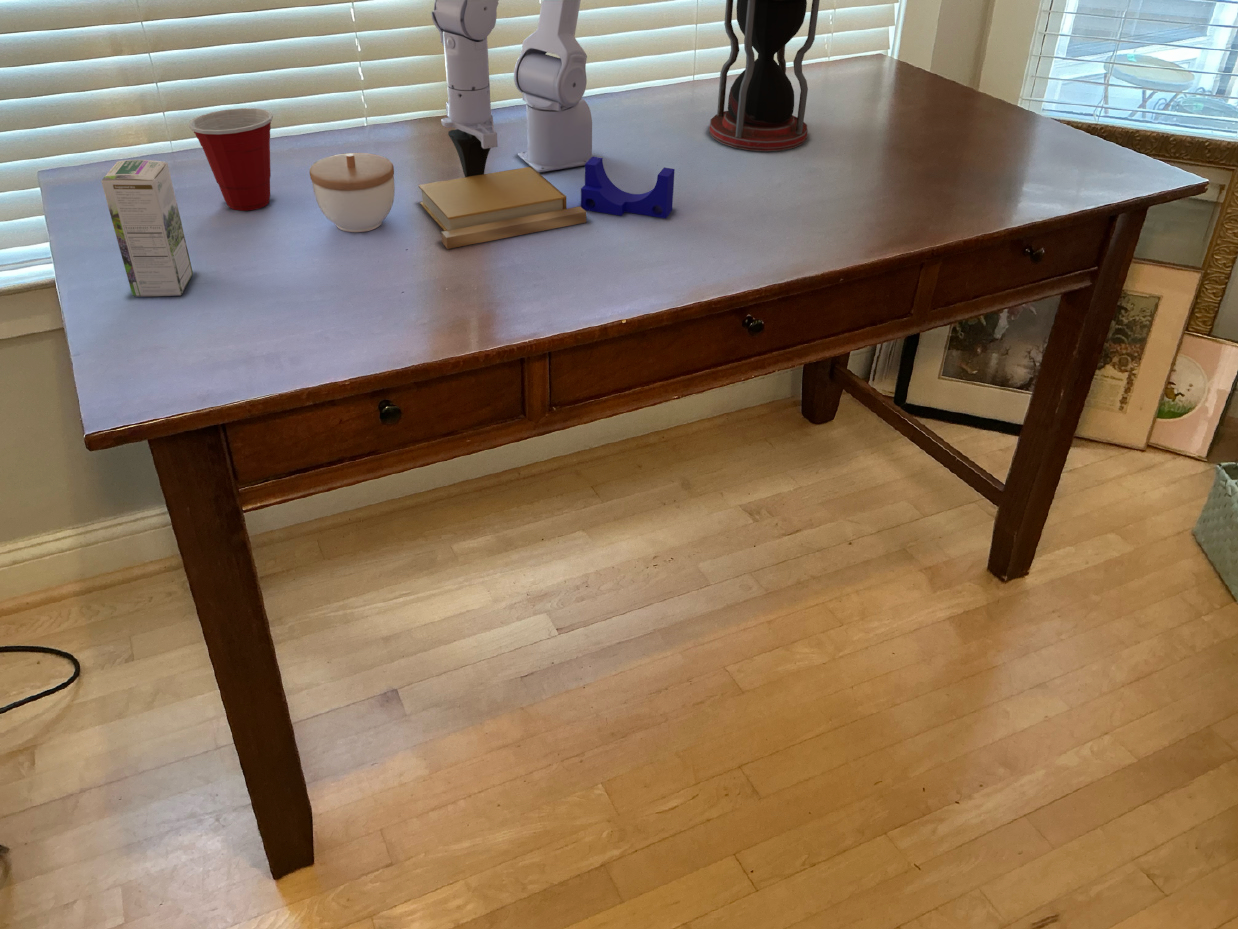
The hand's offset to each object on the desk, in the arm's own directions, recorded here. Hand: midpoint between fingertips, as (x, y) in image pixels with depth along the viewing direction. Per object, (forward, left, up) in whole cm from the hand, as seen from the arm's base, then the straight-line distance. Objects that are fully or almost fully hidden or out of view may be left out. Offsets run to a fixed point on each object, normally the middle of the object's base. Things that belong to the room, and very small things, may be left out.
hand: (474, 181), depth 147 cm
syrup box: (+44, +12, -2) cm, 46 cm away
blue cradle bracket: (-17, +15, -2) cm, 22 cm away
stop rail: (0, +15, -2) cm, 15 cm away
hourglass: (-51, -3, -2) cm, 51 cm away
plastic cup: (+30, -9, -2) cm, 32 cm away
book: (0, +7, -2) cm, 7 cm away
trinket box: (+18, +4, -2) cm, 18 cm away
